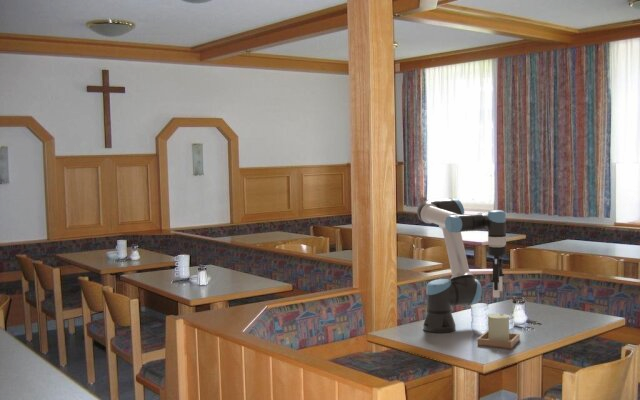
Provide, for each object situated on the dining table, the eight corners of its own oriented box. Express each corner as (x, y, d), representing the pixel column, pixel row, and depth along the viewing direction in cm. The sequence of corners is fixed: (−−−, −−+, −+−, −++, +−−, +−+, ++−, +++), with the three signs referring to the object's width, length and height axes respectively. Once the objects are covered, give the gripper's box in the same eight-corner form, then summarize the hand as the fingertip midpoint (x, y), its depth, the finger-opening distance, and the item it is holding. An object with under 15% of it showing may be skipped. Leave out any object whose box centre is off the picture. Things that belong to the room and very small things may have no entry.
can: (513, 341, 307) (513, 314, 306) (503, 345, 300) (503, 318, 299) (494, 337, 313) (493, 311, 312) (484, 342, 306) (483, 315, 305)
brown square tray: (477, 345, 304) (477, 338, 304) (487, 337, 316) (487, 330, 316) (511, 349, 297) (511, 342, 296) (519, 340, 309) (519, 334, 309)
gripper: (503, 250, 291) (504, 300, 292) (508, 242, 314) (509, 288, 316) (485, 249, 293) (485, 299, 295) (491, 241, 317) (492, 288, 318)
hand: (497, 294), depth 305 cm, fingers open, 13 cm apart
